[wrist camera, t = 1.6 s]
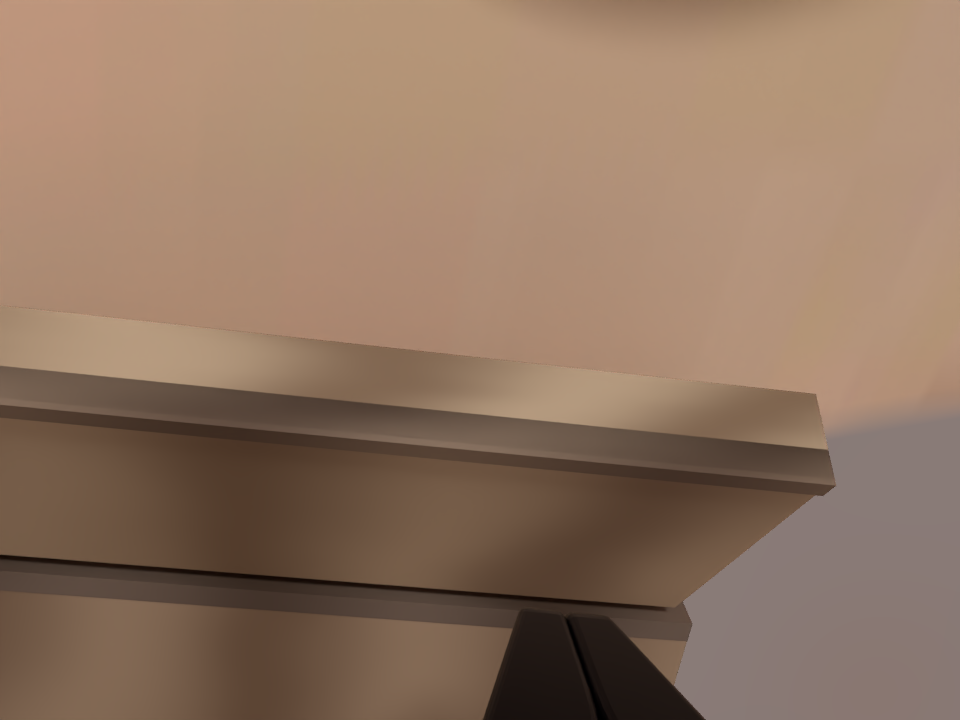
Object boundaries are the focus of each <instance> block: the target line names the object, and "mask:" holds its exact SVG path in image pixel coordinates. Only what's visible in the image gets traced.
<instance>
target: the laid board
mask: <svg viewBox="0 0 960 720" xmlns="http://www.w3.org/2000/svg"><path fill="white" fill-rule="evenodd" d="M524 607H530V608H540V609H549V610H557V611H559V612H561V613H562V614H563V615H564V616H565V615H566V614H567V613H569V612H578V613H587V614H597V615H604V616H607V617H609V618H610V619H611V620H612V621H614V622H615V623H616V625H617V626H618V627H619V628H620V629H621V630H622V631H623V632H624V633H625V634H626V635H627V636H628V637H629V638H630V640H631V641H632V642H633V643H634V644H635V645H636V646H637V647H638V648H639V649H640V650H641V651H642V652H643V653H644V654H645V656H646V657H647V658H648V659H649V660H650V661H651V662H652V663H653V664H654V665H655V666H656V667H657V668H658V669H659V671H660V672H661V673H662V674H663V675H664V676H665V677H666V678H667V679H668V680H669V681H670V682H671V683H672V684H673V686H674V683H675V679H676V676H677V673H678V669H679V666H680V663H681V659H682V656H683V652H684V649H685V646H686V642H687V640H688V637H689V633H690V630H691V627H692V622H691V620H690V617H689V615H688V613H687V611H686V608H685V606H684V604H683V601H682V602H681V603H680V604H679V605H677V606H676V607H675V608H674V607H661V606H649V605H636V604H623V603H611V602H598V601H585V600H572V599H560V598H547V597H534V596H522V595H509V594H496V593H483V592H471V591H458V590H445V589H433V588H420V587H407V586H394V585H382V584H369V583H356V582H344V581H331V580H318V579H305V578H293V577H280V576H267V575H255V574H242V573H229V572H216V571H204V570H191V569H178V568H165V567H153V566H140V565H127V564H115V563H102V562H89V561H76V560H64V559H51V558H38V557H26V556H13V555H0V720H483V717H484V714H485V711H486V708H487V705H488V702H489V699H490V696H491V693H492V690H493V687H494V684H495V681H496V678H497V675H498V672H499V669H500V666H501V663H502V660H503V657H504V654H505V651H506V648H507V645H508V642H509V639H510V636H511V633H512V630H513V627H514V624H515V621H516V618H517V615H518V613H519V611H520V610H521V609H522V608H524Z"/></svg>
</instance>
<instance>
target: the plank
mask: <svg viewBox="0 0 960 720" xmlns="http://www.w3.org/2000/svg"><path fill="white" fill-rule="evenodd" d="M835 486H836V483H835V478H834V474H833V469H832V465H831V460H830V456H829V451H828V447H827V442H826V438H825V433H824V429H823V424H822V420H821V415H820V411H819V406H818V402H817V397H816V394H810V393H801V392H792V391H783V390H773V389H764V388H755V387H746V386H737V385H727V384H718V383H709V382H700V381H691V380H682V379H672V378H663V377H654V376H645V375H636V374H626V373H617V372H608V371H599V370H590V369H581V368H571V367H562V366H553V365H544V364H535V363H525V362H516V361H507V360H498V359H489V358H480V357H470V356H461V355H452V354H443V353H434V352H424V351H415V350H406V349H397V348H388V347H379V346H369V345H360V344H351V343H342V342H333V341H323V340H314V339H305V338H296V337H287V336H277V335H268V334H259V333H250V332H241V331H232V330H222V329H213V328H204V327H195V326H186V325H176V324H167V323H158V322H149V321H140V320H131V319H121V318H112V317H103V316H94V315H85V314H75V313H66V312H57V311H48V310H39V309H30V308H20V307H11V306H2V305H0V555H13V556H26V557H38V558H51V559H64V560H76V561H89V562H102V563H115V564H127V565H140V566H153V567H165V568H178V569H191V570H204V571H216V572H229V573H242V574H255V575H267V576H280V577H293V578H305V579H318V580H331V581H344V582H356V583H369V584H382V585H394V586H407V587H420V588H433V589H445V590H458V591H471V592H483V593H496V594H509V595H522V596H534V597H547V598H560V599H572V600H585V601H598V602H611V603H623V604H636V605H649V606H661V607H674V608H675V607H676V606H677V605H679V604H680V603H681V602H682V601H684V600H685V599H686V598H687V597H689V596H690V595H691V594H692V593H693V592H695V591H696V590H697V589H698V588H700V587H701V586H702V585H704V584H705V583H706V582H707V581H708V580H710V579H711V578H712V577H714V576H715V575H716V574H717V573H718V572H720V571H721V570H722V569H724V568H725V567H726V566H727V565H729V564H730V563H731V562H732V561H734V560H735V559H736V558H737V557H739V556H740V555H741V554H742V553H743V552H745V551H746V550H747V549H749V548H750V547H751V546H752V545H753V544H755V543H756V542H757V541H759V540H760V539H761V538H762V537H764V536H765V535H766V534H767V533H769V532H770V531H771V530H772V529H774V528H775V527H776V526H777V525H778V524H780V523H781V522H782V521H783V520H785V519H786V518H787V517H789V516H790V515H791V514H792V513H794V512H795V511H796V510H797V509H798V508H800V507H801V506H802V505H803V504H805V503H806V502H807V501H808V500H810V499H811V498H812V497H813V496H815V495H818V496H823V495H825V494H826V493H827V492H829V491H830V490H831V489H832V488H834V487H835Z"/></svg>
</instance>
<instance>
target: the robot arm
mask: <svg viewBox="0 0 960 720" xmlns="http://www.w3.org/2000/svg"><path fill="white" fill-rule="evenodd" d="M483 720H705V719H704V718H703V717H702V715H701V714H700V713H699V712H698V711H697V710H696V709H695V708H694V707H693V706H692V705H691V704H690V703H689V702H688V701H687V699H686V698H684V696H683V695H682V694H681V693H680V692H679V691H678V690H677V689H676V688H675V687H674V686H673V684H672V683H671V682H670V681H669V680H668V679H667V678H666V677H665V676H664V675H663V674H662V673H661V672H660V671H659V669H658V668H657V667H656V666H655V665H654V664H653V663H652V662H651V661H650V660H649V659H648V658H647V657H646V656H645V654H644V653H643V652H642V651H641V650H640V649H639V648H638V647H637V646H636V645H635V644H634V643H633V642H632V641H631V640H630V638H629V637H628V636H627V635H626V634H625V633H624V632H623V631H622V630H621V629H620V628H619V627H618V626H617V625H616V623H615V622H614V621H612V620H611V619H610V618H609V617H607V616H604V615H597V614H587V613H578V612H569V613H567V614H566V615H565V616H564V615H563V614H562V613H561V612H559V611H557V610H549V609H540V608H530V607H524V608H522V609H521V610H520V611H519V613H518V615H517V618H516V621H515V624H514V627H513V630H512V633H511V636H510V639H509V642H508V645H507V648H506V651H505V654H504V657H503V660H502V663H501V666H500V669H499V672H498V675H497V678H496V681H495V684H494V687H493V690H492V693H491V696H490V699H489V702H488V705H487V708H486V711H485V714H484V717H483Z"/></svg>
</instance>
